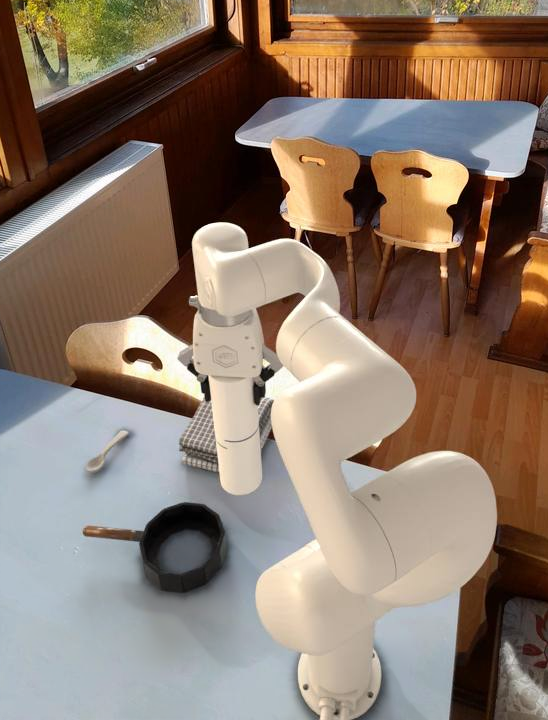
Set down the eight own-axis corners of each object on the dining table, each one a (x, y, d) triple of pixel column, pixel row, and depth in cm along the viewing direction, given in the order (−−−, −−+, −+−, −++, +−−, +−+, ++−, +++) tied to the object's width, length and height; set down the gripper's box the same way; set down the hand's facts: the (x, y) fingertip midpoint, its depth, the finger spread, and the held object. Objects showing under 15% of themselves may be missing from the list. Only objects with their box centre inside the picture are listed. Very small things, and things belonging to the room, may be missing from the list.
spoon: (83, 473, 132) (82, 465, 131) (120, 433, 142) (119, 426, 141) (95, 477, 131) (94, 470, 130) (132, 437, 141) (131, 430, 140)
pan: (214, 596, 111) (212, 580, 109) (69, 580, 113) (64, 564, 111) (233, 522, 123) (231, 506, 121) (102, 509, 125) (98, 493, 123)
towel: (278, 418, 145) (277, 391, 141) (246, 484, 130) (244, 457, 126) (215, 403, 149) (212, 377, 145) (176, 466, 134) (172, 439, 130)
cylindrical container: (255, 498, 110) (247, 385, 97) (214, 491, 111) (200, 379, 99) (267, 464, 116) (260, 354, 103) (228, 458, 117) (216, 348, 105)
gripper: (158, 318, 93) (173, 410, 102) (281, 325, 91) (285, 419, 100) (174, 287, 99) (186, 377, 108) (289, 294, 98) (292, 384, 107)
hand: (234, 396), depth 104 cm, fingers closed on cylindrical container, 7 cm apart
